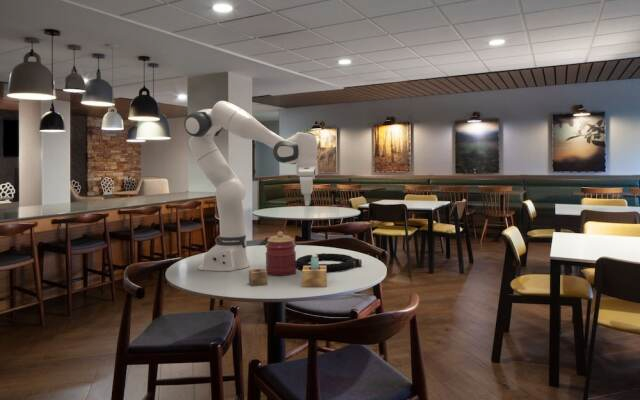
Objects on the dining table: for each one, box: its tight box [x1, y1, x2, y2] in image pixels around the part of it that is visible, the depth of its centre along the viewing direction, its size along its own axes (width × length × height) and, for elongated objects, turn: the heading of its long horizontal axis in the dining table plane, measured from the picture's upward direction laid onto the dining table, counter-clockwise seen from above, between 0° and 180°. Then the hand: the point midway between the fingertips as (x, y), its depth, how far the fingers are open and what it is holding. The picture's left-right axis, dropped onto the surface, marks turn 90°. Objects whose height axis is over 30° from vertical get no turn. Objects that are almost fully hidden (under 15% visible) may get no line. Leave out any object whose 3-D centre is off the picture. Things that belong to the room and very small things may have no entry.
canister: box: [264, 230, 297, 277], centre depth 195 cm, size 13×13×18 cm
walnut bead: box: [248, 268, 268, 287], centre depth 178 cm, size 6×6×5 cm
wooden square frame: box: [301, 265, 328, 288], centre depth 177 cm, size 9×9×6 cm
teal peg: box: [310, 253, 319, 270], centre depth 176 cm, size 3×3×11 cm
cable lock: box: [296, 253, 362, 273], centre depth 207 cm, size 28×4×30 cm
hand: (307, 204), depth 191 cm, fingers open, 8 cm apart
